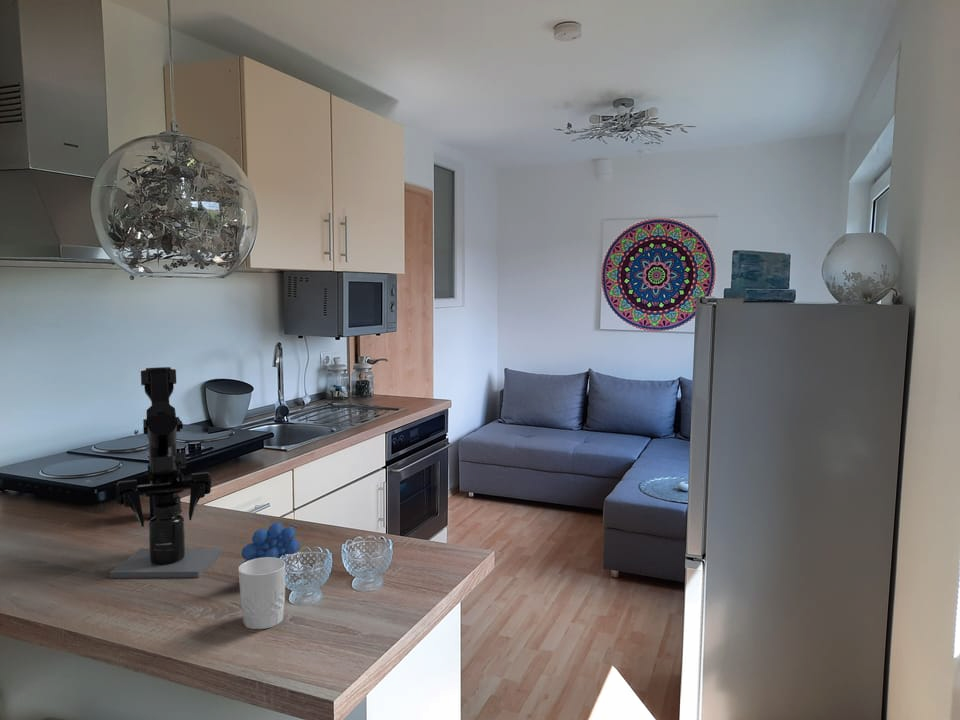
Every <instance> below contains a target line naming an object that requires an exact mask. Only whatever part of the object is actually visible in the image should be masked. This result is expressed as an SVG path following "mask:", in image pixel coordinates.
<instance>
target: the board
mask: <svg viewBox="0 0 960 720" xmlns="http://www.w3.org/2000/svg"><path fill="white" fill-rule="evenodd" d="M223 551H224V550H223V548H222V547H208V548H207V547H197V548H196V547H187V548H186V547H185V556H184V558H183V559H182V560H180V561H178V562H175V563H172V564H165V565H158V564H154V563H152V562H151V561H150V549H149V547H148V548H139V550H137V551H136V552H135V553H133V554H132V555H131V556H130V557H128V558H127V559H125V560H124V561H123V562H121V563H120V564H119V565H117V566H115V568H113V569H112V570H111V571H109V578H110V579H130V578H131V579H135V578H136V579H137V578H138V579H140V578H141V579H143V578H144V579H145V578H146V579H147V578H148V579H150V578H151V579H153V578H155V579H156V578H158V579H159V578H160V579H161V578H162V579H163V578H164V579H165V578H168V579H169V578H170V579H171V578H173V579H175V578H176V579H177V578H182V579H183V578H184V579H186V578H188V579H189V578H200V577H201V575H203V574H204V573H205V572H206V571H207V570H208V569H209V568H210V567H211V565H213V564H214V562H216V560H217V559H219V558H220V557H221V555H223Z"/></svg>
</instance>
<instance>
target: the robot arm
mask: <svg viewBox="0 0 960 720" xmlns="http://www.w3.org/2000/svg"><path fill="white" fill-rule="evenodd" d="M140 383H141V384H140V385H141V386H142V387H143V386H144V393H145V395H146V396H147V397H148V399H149V400H150V402H151V405H150V406H149V407H148V409H146V418H145V419H143V421H142V422H143V423H142V425H143V427H142V428H143V435H146V437H147V439H148V440H147V441H148V456H149V463H148V465H147V472H145V473H144V477H145V478H144V480H145V483H144V484H139V485H138V481H137V479H130V480H121V481H118V482H117V483H116V484H115V489H116V490H115V493H116V501H117V505H122V506H123V505H124V507H125V508H130V509H131V510H132V512H133V513H134V514H135V516H136V518H137V520H138V522H139V523H140V526H141V528H143V527H145V520H144V513H143V507H142V503H141V497H140V495H145V497H149V500H148V501H149V515H148V516H147V517H146V519H147V520H151V519H152V518H153V517H155V515H154V505H155V504H158V503H161V502H177V503H179V512H178V514H180V513H182V512H183V509H182V506H181V505H182V504H181V496H179V493H182V492H183V491H185V490H190V495H189V496H190V497H189V504H188V505H189V508H188V519H189V521H192V519H193V516H194V513H195V509H196V506H197V505H198V503H199V501H200V499H203V498H205V496H206V495H209V494H210V493H211V490H212V476H211V474H210V472H208V471H203V472H194V473H191V479H186V480H185V475H184V474H183V473H182V471H181V469H185V468H186V467H187V462H186V461H187V460H186V452H183V451H182V452H177V451H178V450H177V439H178V438H177V434H178V433H179V432H181V430H183V427H184V425H183V422H182V420H181V419H180V416H177V415H176V408H175V407H174V406H172V405H171V403H170V398H171V396H172V394H173V393H174V389H175V388H174V387H175V386H174V385H176V384H177V369H173V368H172V367H171V366H167V367H165V366H163V367H158V366H157V367H146V368H145V370H141V371H140ZM177 432H178V433H177Z"/></svg>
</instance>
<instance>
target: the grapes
mask: <svg viewBox="0 0 960 720" xmlns="http://www.w3.org/2000/svg"><path fill="white" fill-rule="evenodd" d="M295 536H296V529H295V527H293V526H286V527H285V528H284V525H283V524H282V523H281V522H278V521H277V522H273V523H272V524H271V525H270V526H269V527H268V529H265V528H260V529H258V530H256V531H255V532H254V533H253V535H252V539H251V540H252V543H251V542H250V543H247V544H246V545H244V547H242V550H241V557H242V559H244V561H243V562H242V564H243V563H245V562H247V561H249V560H253V559H257V558H264V557H274V558H280V557H281V556H282V555H285V554H294V553H295V554H297V553H298V551H299V550H300V547H301V546H300V542H299V541H300V540H298V539H297V538H296V539H294V538H295ZM295 554H294V555H295Z"/></svg>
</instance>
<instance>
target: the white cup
mask: <svg viewBox="0 0 960 720" xmlns="http://www.w3.org/2000/svg"><path fill="white" fill-rule="evenodd" d="M242 563H243V562H242ZM285 570H286V563H285V561H284V560H282V559H280V558H274V557H264V558H257V559H253V560H249V561H247V562H245V563H243V564H240V565H239V566H238V569H237V571H238V582H239V594H240V603H241V605H240V606H241V610H242V621H243V622H242V623H243V625H244V626H245V627H246V628H249V629H251V630H264V629H269V628H273V627H275V626H278V625H279V624H280V623H282V622H283V621H284V617H285V616H284V613H285V601H286V600H285V599H286V597H285V596H286V571H287V570H286V571H285Z"/></svg>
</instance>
